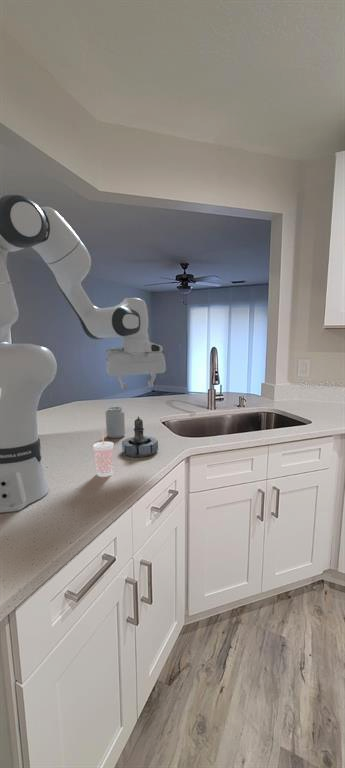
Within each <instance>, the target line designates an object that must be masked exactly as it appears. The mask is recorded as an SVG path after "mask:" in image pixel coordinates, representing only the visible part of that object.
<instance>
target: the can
mask: <svg viewBox="0 0 345 768" xmlns="http://www.w3.org/2000/svg"><path fill="white" fill-rule="evenodd" d="M106 409H107V410H106V411H105V424H106V425H105V429H106V436H107V437H108V438H109V439H121V438H122V437H124V436H125V435H126V425H125V410H124V409H123V406H111V407H107V408H106Z"/></svg>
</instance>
